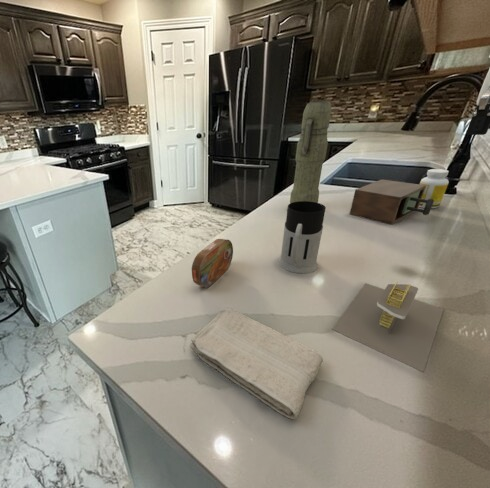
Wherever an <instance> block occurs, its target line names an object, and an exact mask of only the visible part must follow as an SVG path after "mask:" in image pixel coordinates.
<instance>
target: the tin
mask: <svg viewBox="0 0 490 488" xmlns="http://www.w3.org/2000/svg"><path fill="white" fill-rule="evenodd" d="M233 256H234V247H233V243H232V241H231V240H230V239H224V238H216V239H215V240H213V241H212V242H210V243H209V244H208V245H207V246H206V247H204V248H203V249H202V250H201V251H199V252H198V253H197V254H196V256H195V257H194V259H193V262H192V264H191V278H192V281H193V283H194V284H195V285H198V286H200V287H203V288H205V289H207V288H210V287H211V286H212V285H214V283H215V282H216V281H217V280H219V279H220V278H221V276H223V274H225V273H226V272H227V271H228V269H229V268H230V266H231V263H232V261H233Z"/></svg>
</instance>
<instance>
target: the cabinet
mask: <svg viewBox="0 0 490 488" xmlns="http://www.w3.org/2000/svg"><path fill="white" fill-rule="evenodd" d="M425 188H426V185H420V183H412V182H406V181H405V182H404V181H397V180H390V179H379V180H376V181H374V182H370V183H368V184H365V185H363V186H360V187H359V188H358V187H357V188H356V189H355V190H354V194H353V198H352V202H351V206H350V211H349V215H351V216H355V217H359V218H363V219H366V220H367V219H368V220H372V221H375V222H380V223H383V224H386V225H387V224H388V225H391V226H392V225H394V224H396V223H398V222H400V221H402V220H403V219H405V218H407V217H409V216H412V214H414V213H416V211H409V212H407V213H406V214H404V215H403V214H401V213H402V210H403V208H404V205H405V202H406V199H407V197H408V196H410V195H413V194H415V193H417V192H419V191H420V193H419V196H418V198H420V199H422V196H423V193H424V191H425ZM419 204H420V202H417V201H416V204H415V207H414V208H418V209H419V208H420V207H419Z"/></svg>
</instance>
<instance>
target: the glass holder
mask: <svg viewBox="0 0 490 488" xmlns="http://www.w3.org/2000/svg"><path fill="white" fill-rule="evenodd" d="M325 215H326V206H325V204H322V203H319V202H318V203H316V202H310V201H298V202H293V203H290V202H289V203H288V205H287V209H286V218H285V222H284V227H283V235H282V243H281V244H282V245H281V254H280V257H279V259H278V261H277V262H278V265H279V267H280V268H282V269H284V270H285V271H287V272H291V273H295V274H311V273H314V272H315V271H316V270H318V263H317V259H318V256H319V255H318V254H319V249H320V246H321V245H320V244H321V240H322V234H323V230H324V225H323V224H324V219H325Z"/></svg>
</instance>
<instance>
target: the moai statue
mask: <svg viewBox="0 0 490 488" xmlns="http://www.w3.org/2000/svg"><path fill="white" fill-rule="evenodd" d="M331 114H332V105H331V100H328V99H321V100H312V101H309V102H308V103H307V104H306V106H305V108H304V109H303V113H302V121H301V127H300V128H301V133H300V134H299V139H298V141H297V143H296V151H295V152H296V153H295V160H294V161H295V163H296V164H295V171H294V179H293V187H292V190H291V192H290V198H289V204H290V203H293V202H298V201H310V202H316V203H319V197H320V190H319V186H320V181H321V176H322V170H323V164H324V162H325V160H326V156H327V150H328V146H329V140H328V128H329V127H330V120H331Z"/></svg>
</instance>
